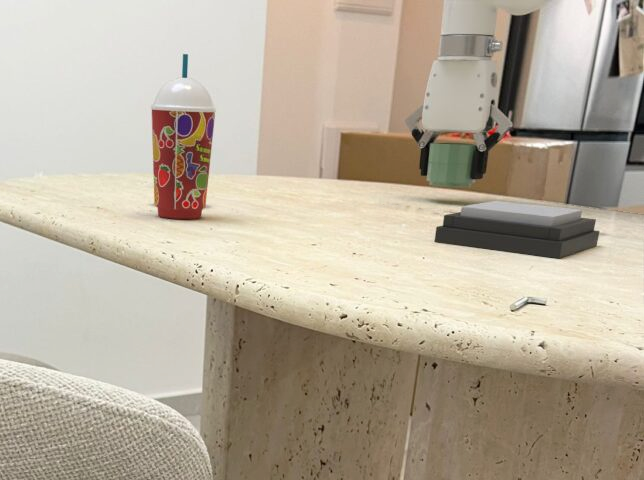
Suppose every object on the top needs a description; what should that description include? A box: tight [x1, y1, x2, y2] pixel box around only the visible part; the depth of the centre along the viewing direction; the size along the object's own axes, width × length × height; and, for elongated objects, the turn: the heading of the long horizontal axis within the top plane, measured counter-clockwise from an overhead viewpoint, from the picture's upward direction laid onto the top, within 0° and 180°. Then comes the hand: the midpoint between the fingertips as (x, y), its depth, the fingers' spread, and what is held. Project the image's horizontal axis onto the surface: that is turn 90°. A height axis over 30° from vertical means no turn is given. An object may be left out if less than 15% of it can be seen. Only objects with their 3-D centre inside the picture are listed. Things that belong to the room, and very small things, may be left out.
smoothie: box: [150, 53, 217, 220], centre depth 122 cm, size 8×8×20 cm
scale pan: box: [460, 200, 583, 227], centre depth 115 cm, size 11×11×2 cm
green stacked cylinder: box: [426, 141, 477, 188], centre depth 142 cm, size 7×7×6 cm
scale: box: [434, 211, 600, 260], centre depth 115 cm, size 15×15×3 cm
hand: (451, 176), depth 143 cm, fingers closed on green stacked cylinder, 7 cm apart
